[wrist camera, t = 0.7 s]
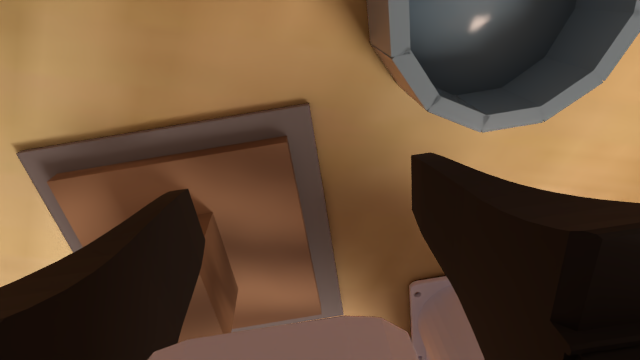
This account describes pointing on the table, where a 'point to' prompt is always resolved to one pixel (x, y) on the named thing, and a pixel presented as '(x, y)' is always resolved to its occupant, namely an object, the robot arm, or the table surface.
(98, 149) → the mat
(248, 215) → the lid
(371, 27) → the bowl
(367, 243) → the table surface
